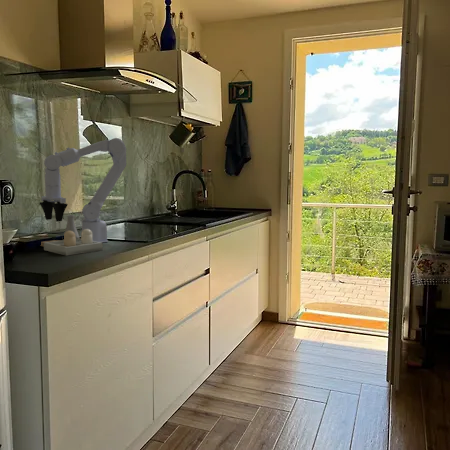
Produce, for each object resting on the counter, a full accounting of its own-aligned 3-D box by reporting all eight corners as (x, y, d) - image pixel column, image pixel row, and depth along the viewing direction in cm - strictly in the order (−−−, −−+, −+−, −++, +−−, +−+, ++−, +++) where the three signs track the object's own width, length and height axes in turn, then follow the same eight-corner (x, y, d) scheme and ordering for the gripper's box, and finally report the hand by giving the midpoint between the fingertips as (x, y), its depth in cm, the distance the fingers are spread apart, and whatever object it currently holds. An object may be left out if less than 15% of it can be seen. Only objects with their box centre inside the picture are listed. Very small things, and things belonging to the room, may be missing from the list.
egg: (71, 248, 166) (71, 229, 165) (78, 249, 164) (77, 230, 163) (61, 249, 163) (61, 230, 162) (68, 251, 161) (67, 231, 160)
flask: (82, 237, 199) (81, 214, 198) (77, 239, 192) (76, 216, 191) (65, 237, 199) (64, 214, 198) (59, 239, 192) (59, 216, 191)
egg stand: (57, 243, 181) (57, 240, 181) (66, 245, 177) (66, 242, 177) (40, 245, 176) (40, 242, 176) (49, 248, 172) (49, 244, 171)
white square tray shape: (79, 245, 179) (79, 225, 178) (102, 250, 170) (102, 229, 169) (44, 250, 168) (43, 228, 167) (66, 255, 158) (65, 232, 157)
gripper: (33, 185, 180) (34, 219, 181) (53, 187, 171) (54, 222, 172) (50, 185, 185) (51, 218, 187) (70, 186, 176) (71, 221, 178)
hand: (53, 220), depth 180 cm, fingers open, 7 cm apart
